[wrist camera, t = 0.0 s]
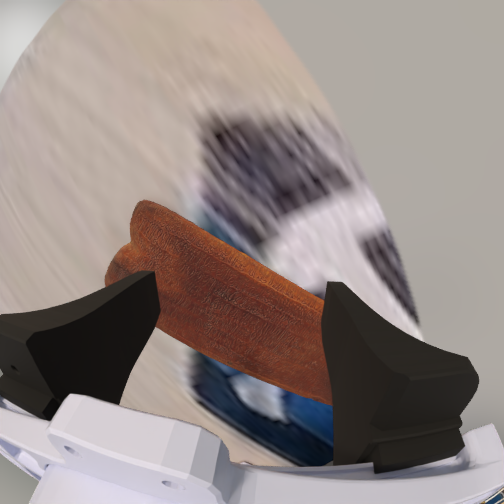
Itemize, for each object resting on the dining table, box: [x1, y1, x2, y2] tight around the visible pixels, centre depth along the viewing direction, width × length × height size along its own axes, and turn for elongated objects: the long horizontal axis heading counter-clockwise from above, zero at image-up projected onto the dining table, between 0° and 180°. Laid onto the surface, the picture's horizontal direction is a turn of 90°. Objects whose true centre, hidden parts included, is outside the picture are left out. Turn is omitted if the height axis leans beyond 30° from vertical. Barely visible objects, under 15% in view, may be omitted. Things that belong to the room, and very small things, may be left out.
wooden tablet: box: [105, 200, 333, 406], centre depth 24 cm, size 27×10×2 cm, turn 60°
